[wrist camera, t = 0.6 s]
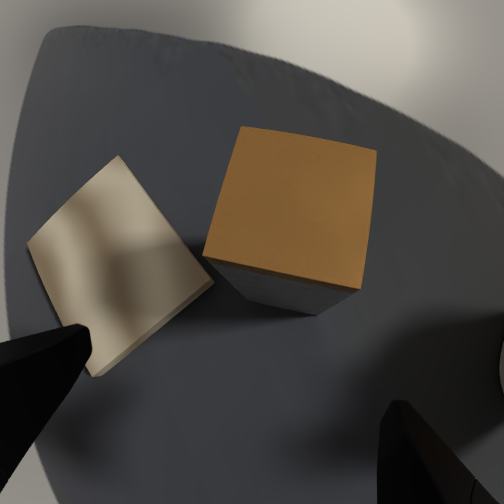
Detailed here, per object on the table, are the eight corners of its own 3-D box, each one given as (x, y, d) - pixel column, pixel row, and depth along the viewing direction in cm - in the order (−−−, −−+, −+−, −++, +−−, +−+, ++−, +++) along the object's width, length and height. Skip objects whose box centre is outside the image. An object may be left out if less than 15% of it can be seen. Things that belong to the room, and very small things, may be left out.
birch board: (102, 375, 22) (92, 377, 21) (36, 247, 26) (27, 243, 24) (215, 282, 23) (210, 278, 22) (125, 163, 27) (118, 155, 25)
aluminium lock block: (317, 315, 22) (360, 289, 9) (247, 300, 23) (202, 255, 10) (330, 247, 23) (376, 150, 10) (263, 234, 24) (241, 126, 11)
